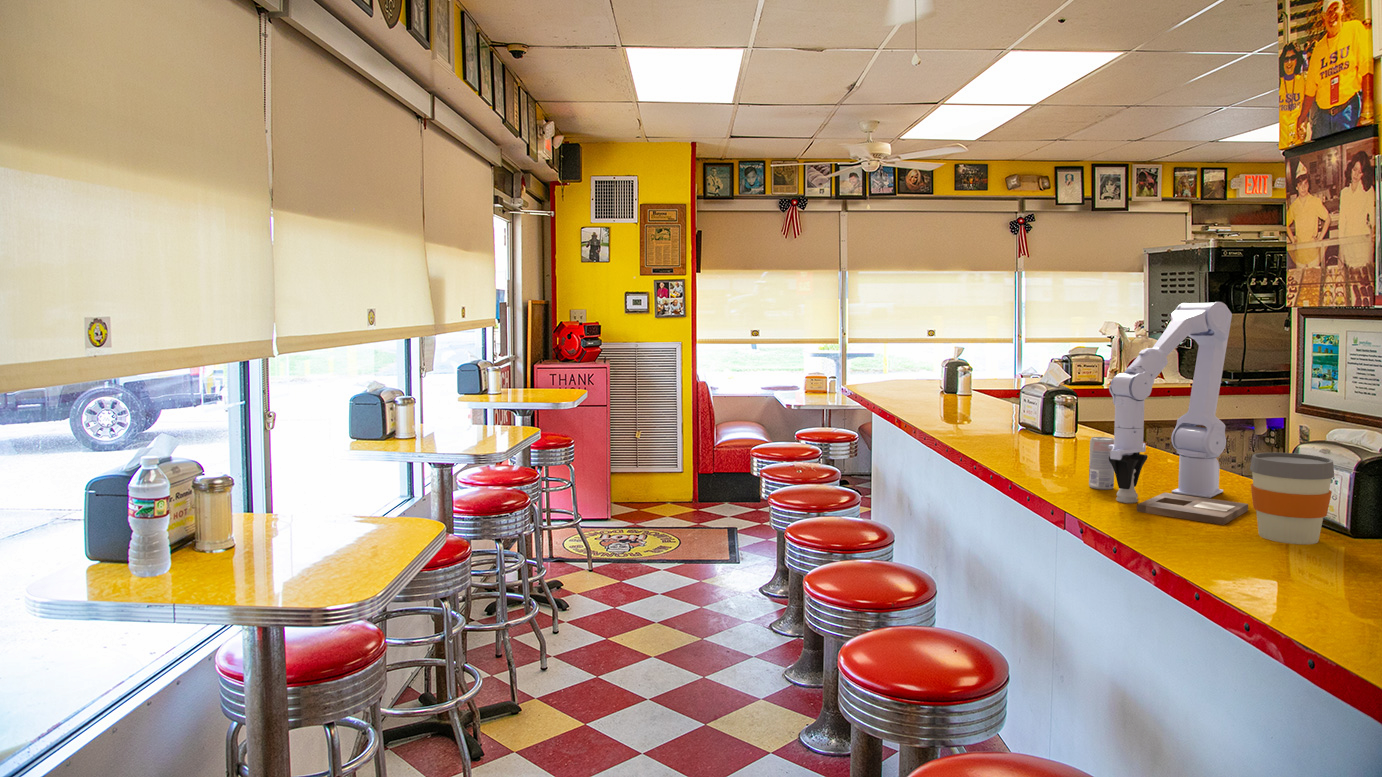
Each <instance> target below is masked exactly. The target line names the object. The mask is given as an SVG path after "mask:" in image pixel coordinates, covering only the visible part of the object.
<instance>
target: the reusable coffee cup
mask: <svg viewBox="0 0 1382 777" xmlns="http://www.w3.org/2000/svg"><path fill="white" fill-rule="evenodd" d="M1249 471H1250V472H1251V475H1252V483H1251V484H1250V491H1251V498H1252V499H1251V500H1252V507H1253V509H1254V510H1255V512H1256V521H1257V530H1258V536H1260V537H1261V538H1263V539H1266V540H1270V541H1273V542H1277V543H1283V544H1292V545H1314V544H1317V543H1319V540H1320V536H1321V530H1322V527H1323V526H1322V525H1323V521H1324V518H1325V517H1327V515H1328V511H1329V507H1330V501H1331V496H1332V492H1333V491H1332V490H1330V487H1331V484H1332V479H1334V478H1335V468H1334V460H1333V459H1331V458H1327V457H1324V456H1319V455H1310V454H1305V453H1293V452H1258V453H1253V454H1252V456H1251V461H1250V466H1249Z"/></svg>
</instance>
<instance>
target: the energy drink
mask: <svg viewBox="0 0 1382 777" xmlns="http://www.w3.org/2000/svg"><path fill="white" fill-rule="evenodd" d="M1111 444H1113V445H1114V437H1113V438H1112V437H1109V436H1108V437H1106V436H1094V437H1091V438H1090V440H1089V462H1088V463H1089V464H1088V465H1089V466H1088V467H1089V469H1088V470H1089V471H1088V472H1089V474H1088V476H1089V477H1088V486H1089V487H1090V488H1091V489H1095V490H1104V491H1105V490H1107V491H1108V490H1113V489H1114V486H1115V485H1114V484H1115V472H1114V469H1113V467H1112V465H1111V463H1110V461H1109V456H1110V450H1112V449H1111V448H1108V447H1109V445H1111Z"/></svg>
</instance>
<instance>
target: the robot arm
mask: <svg viewBox="0 0 1382 777" xmlns="http://www.w3.org/2000/svg"><path fill="white" fill-rule="evenodd" d="M1232 318H1233V314H1232V312H1231V310H1230V309H1229V308H1228V305H1227V304H1225V303H1224V302H1223V301H1215V302H1190V303H1189V302H1182V303H1180V304H1178V305H1177V306H1176V307H1175V310H1174V311H1172V312H1171V313H1170V323H1169V324H1168V325H1167V326H1166V328H1165V329H1164V331H1163V333H1162V334H1161V335H1160V336H1159V338H1158V339H1157V341H1155V343H1154V345H1153V346H1152V347H1147V348H1144V349H1141V350H1140V351H1139V352H1138V356H1137V357H1136V358H1135V359H1134V360H1133V361H1132V363H1130V365H1128V367H1127V368H1126V370H1125V371H1123V372H1120V373H1118V374H1116V375H1115V376H1114V377H1113V378H1112V379H1111V381H1110V384H1109V385H1108V390H1109V394H1110V395H1111V396H1112V403H1113V406H1114V429H1113V430H1114V433H1113V435H1114V436H1113V439H1114V445H1113V444H1111V445H1109V447H1108V448H1111V449H1112V450H1110V456H1109V461H1110V463H1111V465H1112V467H1113V469H1114V476H1115V478H1116V483H1117V484H1116V485H1117V486H1118V489H1120V488H1121V489H1130V486H1131V481H1132V475H1133V471H1134V469H1135V470H1136V472H1135V473H1134V477H1135V478H1134V488H1135V487H1137V486H1138V485H1137V484H1138V482H1139V479H1140V474H1141V471H1142V468H1143V466H1144V465H1145V463H1146V461H1147V460H1148V457H1149V456H1148V454H1144V453H1146V447H1147V446H1146V444H1147V443H1146V442H1144V435H1145V434H1144V430H1145V427H1144V426H1145V422H1144V421H1145V400H1146V399H1147V398H1148V397H1150V395H1151V393H1152V390H1153V385H1154V384H1155V379H1156V378H1157V377H1158V376H1159V375H1160V374H1161V373H1162V372H1163V371H1164V369H1165V368H1166V367H1167V365H1168V356H1169V355H1170V354H1171V353H1172V352H1173V351H1174V350H1175V349H1176V348H1177V347H1178V346H1179V345H1180V344H1181V343H1182V342H1183V341H1184V340H1185V339H1186V338H1187V337H1189V338H1190V339H1192V340H1194V341H1195V342H1196V344H1197V345H1198V350H1197V354H1196V362H1195V368H1194V372H1193V379H1192V385H1191V390H1190V391H1191V392H1190V398H1189V404H1188V408H1187V409H1188V410H1187V412H1186V413H1184V414H1183V415H1181V416H1180V417H1178V418H1177V420H1176V425H1175V428H1173V431H1172V432H1171V438H1170V439H1171V446H1173V448H1174V450H1176V454H1177V455H1178V454H1179V460H1178V461H1179V463H1178V464H1179V465H1178V488H1175V489H1172V490H1171V493H1172V494H1179V495H1186V496H1194V497H1201V498H1208V499H1212V498H1213V497H1215V496H1217V495H1220V494H1221V493H1223V492H1224V489H1221V488H1220V463H1219V461H1218V459H1217V458H1219V457H1220V455H1222V453H1223V452H1224V451H1225V448H1226V446H1227V439H1226V427H1227V426H1226V424H1225V423H1224V422H1223V421H1222V420H1221V419H1219V418H1218V416H1217V415H1216V414H1217V406H1218V402H1219V401H1218V400H1219V396H1220V388H1221V383H1222V377H1223V372H1224V364H1225V359H1226V353H1227V346H1228V340H1229V337H1230V336H1229V335H1230V330H1231V324H1232ZM1201 426H1204V427H1201Z"/></svg>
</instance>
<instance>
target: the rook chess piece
mask: <svg viewBox="0 0 1382 777" xmlns="http://www.w3.org/2000/svg"><path fill="white" fill-rule="evenodd" d="M1135 472H1136V470H1135V469H1134V471H1133V475H1132V481H1131V486H1130V489H1121V488H1118V491H1117V492H1116V494H1115V496H1117V497H1116V498H1115V500H1116V501H1117V502H1119V503H1122V504H1138V503H1137V502H1139V499H1138V497H1139V496H1138V493H1137V492H1136V491H1137V490H1136V489H1135V487H1134V478H1135V477H1134V473H1135Z"/></svg>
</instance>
